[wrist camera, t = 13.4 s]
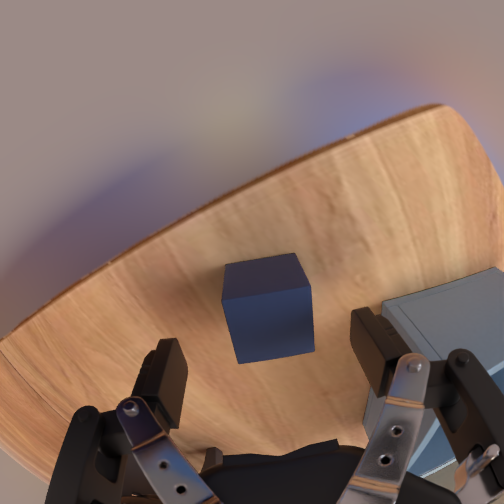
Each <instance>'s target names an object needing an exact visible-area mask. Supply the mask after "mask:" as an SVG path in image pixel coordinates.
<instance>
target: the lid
mask: <svg viewBox="0 0 504 504" xmlns="http://www.w3.org/2000/svg"><path fill="white" fill-rule="evenodd" d="M458 466H459V464H458V462H457V461H455V462H453V463H452V464H450V465H448V466H446V467H444V468H442V469H441V470H439V471H437V472H435V473H433V474H431V475H429V476H427V477H425V478H423V479H426V480H428V481H430V482H432V483H435V484H437V485H439V486H442V487H444V488H447V489H449V490H451V491H453V492H454V489H455V482H454V473H455V470H456V468H457V467H458ZM491 504H504V495H503V496H502V497H500V498H499V499H497V500H496V501H494V502H493V503H491Z"/></svg>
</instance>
